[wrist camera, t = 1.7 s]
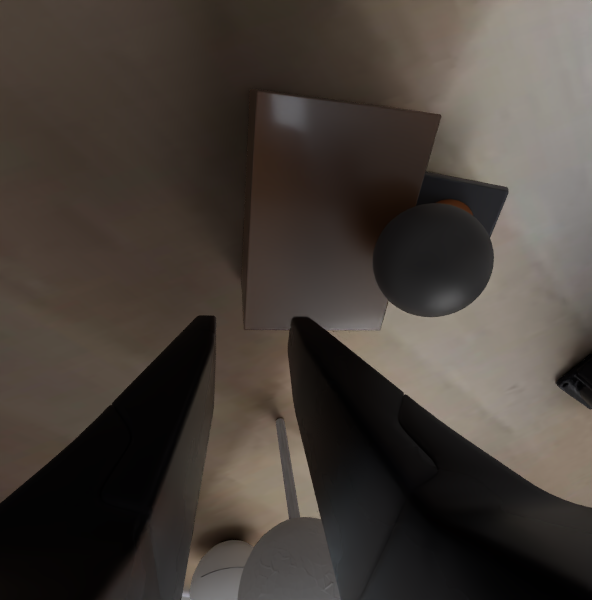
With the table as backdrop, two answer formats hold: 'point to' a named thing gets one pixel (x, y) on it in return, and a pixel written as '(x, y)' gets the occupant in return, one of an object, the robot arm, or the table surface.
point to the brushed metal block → (324, 205)
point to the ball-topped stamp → (439, 246)
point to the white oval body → (220, 571)
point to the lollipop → (290, 552)
